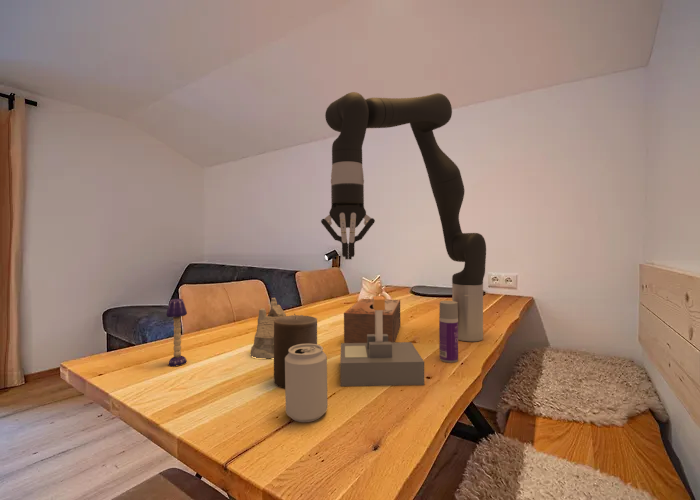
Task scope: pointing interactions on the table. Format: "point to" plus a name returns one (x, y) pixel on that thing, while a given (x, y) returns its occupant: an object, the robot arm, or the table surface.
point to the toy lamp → (177, 329)
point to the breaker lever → (378, 317)
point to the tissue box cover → (370, 320)
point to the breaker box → (380, 363)
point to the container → (448, 331)
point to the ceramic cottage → (266, 331)
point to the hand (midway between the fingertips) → (348, 259)
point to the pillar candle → (291, 340)
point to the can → (306, 382)
